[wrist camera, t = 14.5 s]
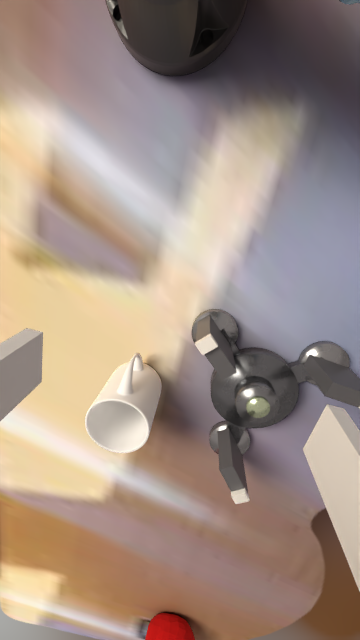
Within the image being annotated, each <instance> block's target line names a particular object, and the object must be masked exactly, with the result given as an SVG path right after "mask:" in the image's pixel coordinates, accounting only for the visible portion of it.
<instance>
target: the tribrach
mask: <svg viewBox="0 0 360 640" xmlns="http://www.w3.org/2000/svg"><path fill="white" fill-rule="evenodd" d="M209 314H210V316H211V317H212V319H213V320H214V322H215V323H216V325H217V326H218V328H219V329H220V331H221V332H222V333H223V335H224V336H225V338H226V339H227V341H228V342H229V344H230V345H231V347H232V351H233V356H234V361H235V366H236V370H237V373H235V374H233V375H232V376H230V377H228V378H226V379H224V380H222V378H221V377H220V376H219V374H218V373H217V371H216V370H215V369H214V371H213V374H212V377H211V398H212V402H213V405H214V407H215V409H216V410H217V411H218V413H219V414H220V415H221V416H222V417H223V418H224V419H226V420H227V421H222V422H219V423H217V424H216V425H214V426H213V428H212V429H211V431H210V445H211V448H212V449H213V450H214V451H215V452H216V453H217V454H219V452H218V433H217V431H220V430H223V429H226V428H229V430H230V432H231V434H232V436H233V438H234V440H235V442H236V444H237V446H238V448H239V450H240V452H241V454H244V453H245V452H246V451H247V450H248V448H249V446H250V437H249V433H248V430H247V429H246V428H263V427H267V426H271V425H273V424H276V423H278V422H279V421H281V420H283V419H284V418H285V417H286V416H287V415H288V414H289V413H290V412H291V411H292V410H293V408H294V406H295V405H296V402H297V399H298V394H299V386H298V383H301V382H304V381H308V382H310V383H312V384H314V385H317V384H316V383H315V382H314V380H313V379H312V377H311V376H310V375H309V373H308V372H307V370H306V369H305V368H304V366H303V365H304V363H305V362H306V360H307V358H308V356H309V355H313V356H316V357H319V358H322V359H325V360H328V361H331V362H334V363H337V364H340V365H342V366H345V367H348V368H349V365H350V361H349V357H348V355H347V353H346V352H345V351H344V350H343V349H342V348H341V347H340V346H338V345H337V344H335V343H333V342H329V341H320V342H316V343H313V344H311V345H309V346H308V347H306V348H305V349H304V350H303V352H302V353H301V355H300V357H299V360H298V361H295V362H292V363H289V364H287V362H286V361H285V360H284V359H283V358H282V357H281V356H279V355H278V354H276V353H274V352H272V351H269V350H267V349H262V348H244V349H240V350H239V349H238V347H237V346H236V344H235V343H236V341H237V338H238V328H237V324H236V322H235V320H234V318H233V317H232V316H231V315H230V314H229V313H227V312H225V311H223V310H219V309H211V310H207V311H204V312H203V313H201V314H200V315H199V316H198V317H197V318H196V319H195V321H194V323H193V327H192V338H193V341H194V343H195V342H196V334H197V324H198V321H199V320H201V319H203V318H204V317H206V316H208V315H209Z"/></svg>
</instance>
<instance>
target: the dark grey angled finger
mask: <svg viewBox="0 0 360 640" xmlns="http://www.w3.org/2000/svg"><path fill="white" fill-rule="evenodd" d="M217 433H218V452H219V470H220V472H221V474H222V475H223V477H224V479H225V481H226V483H227V485H228V487H229V488H230V490H231V497H232V498H233V500H234V502H235V504H239V503H243V502H247V501H250V500H249V495H248V489H247V483H246V476H245V470H244V464H243V457H242V454H241V452H240V450H239V448H238V446H237V444H236V442H235V440H234V438H233V436H232V434H231V432H230V430H229V428H226V429H223V430H220V431H217Z"/></svg>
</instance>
